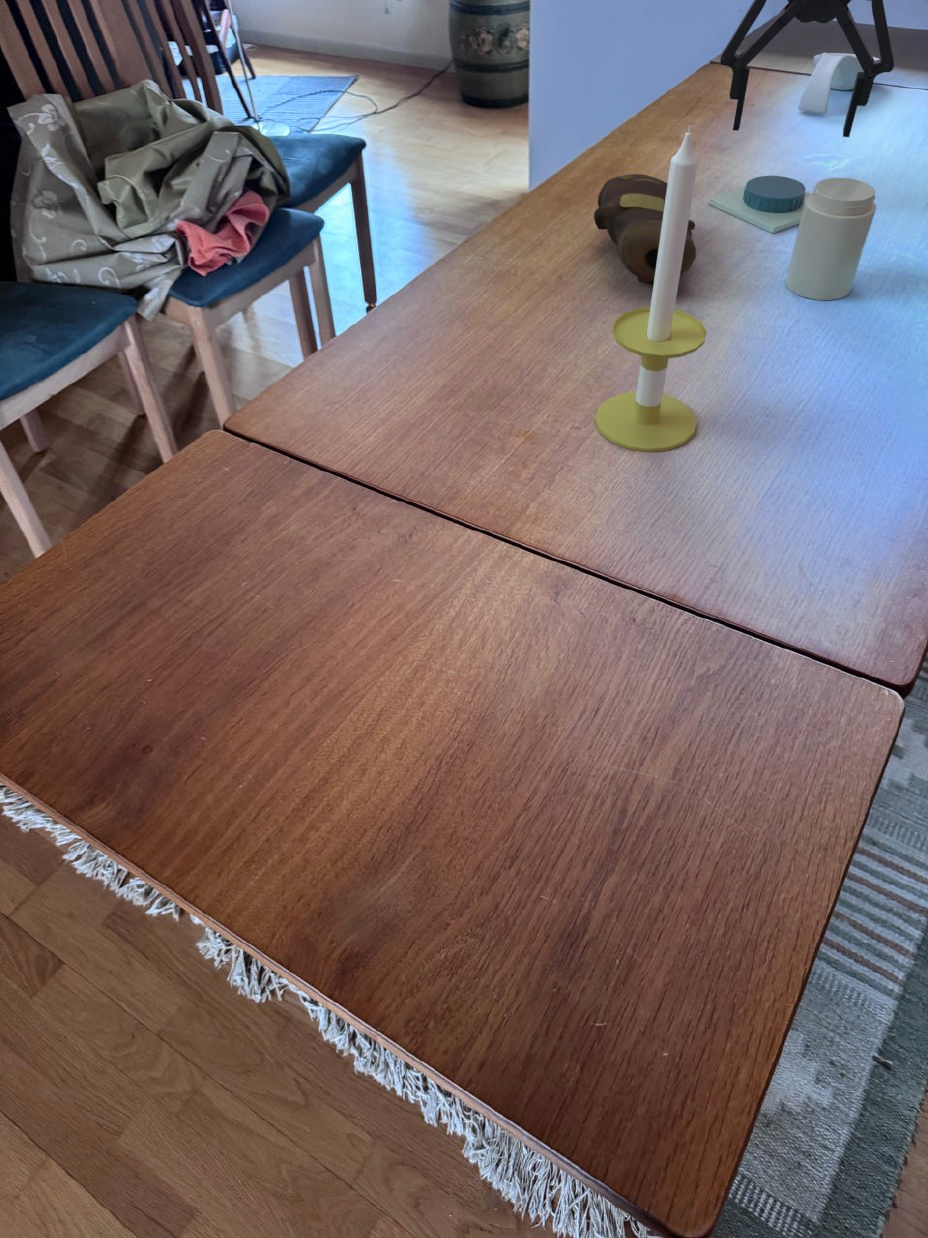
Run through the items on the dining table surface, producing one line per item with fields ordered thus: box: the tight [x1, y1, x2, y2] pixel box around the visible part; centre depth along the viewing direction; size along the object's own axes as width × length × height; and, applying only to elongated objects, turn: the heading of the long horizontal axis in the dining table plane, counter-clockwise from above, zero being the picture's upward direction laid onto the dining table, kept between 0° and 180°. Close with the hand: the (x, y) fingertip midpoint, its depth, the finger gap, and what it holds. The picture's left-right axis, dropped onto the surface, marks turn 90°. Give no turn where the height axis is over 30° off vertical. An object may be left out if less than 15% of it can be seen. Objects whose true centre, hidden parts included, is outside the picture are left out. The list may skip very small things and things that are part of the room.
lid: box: [743, 175, 807, 213], centre depth 119 cm, size 8×8×2 cm
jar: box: [784, 177, 877, 301], centre depth 101 cm, size 8×8×11 cm
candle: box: [594, 124, 707, 453], centre depth 77 cm, size 10×10×27 cm
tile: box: [707, 185, 812, 234], centre depth 120 cm, size 12×12×1 cm
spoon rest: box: [797, 52, 880, 115], centre depth 148 cm, size 24×12×7 cm, turn 148°
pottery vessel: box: [593, 173, 697, 283], centre depth 107 cm, size 12×20×8 cm, turn 177°
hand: (790, 130), depth 113 cm, fingers open, 13 cm apart
